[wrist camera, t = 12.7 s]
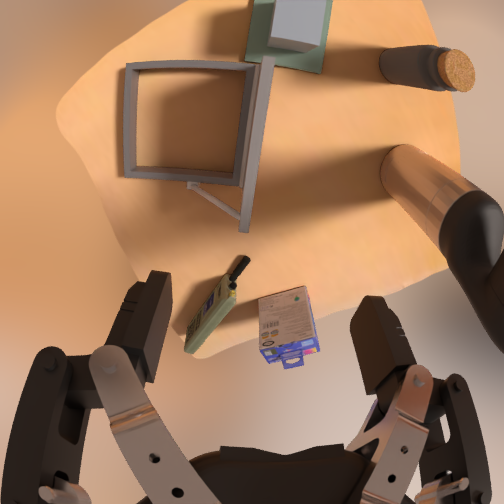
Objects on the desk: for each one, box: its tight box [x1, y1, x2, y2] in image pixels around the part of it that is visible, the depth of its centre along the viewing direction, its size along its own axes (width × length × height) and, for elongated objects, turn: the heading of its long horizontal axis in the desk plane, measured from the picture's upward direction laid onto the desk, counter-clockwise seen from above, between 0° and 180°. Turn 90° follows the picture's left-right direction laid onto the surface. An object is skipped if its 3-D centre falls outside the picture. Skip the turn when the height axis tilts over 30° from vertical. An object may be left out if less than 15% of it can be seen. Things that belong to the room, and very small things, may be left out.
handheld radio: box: [184, 256, 251, 354], centre depth 51 cm, size 7×3×25 cm
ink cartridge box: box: [258, 286, 320, 369], centre depth 48 cm, size 10×6×14 cm, turn 111°
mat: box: [244, 0, 333, 74], centre depth 25 cm, size 10×12×1 cm
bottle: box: [379, 45, 475, 92], centre depth 21 cm, size 6×6×15 cm
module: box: [267, 0, 326, 53], centre depth 22 cm, size 5×7×8 cm
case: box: [123, 56, 276, 233], centre depth 28 cm, size 18×18×14 cm
